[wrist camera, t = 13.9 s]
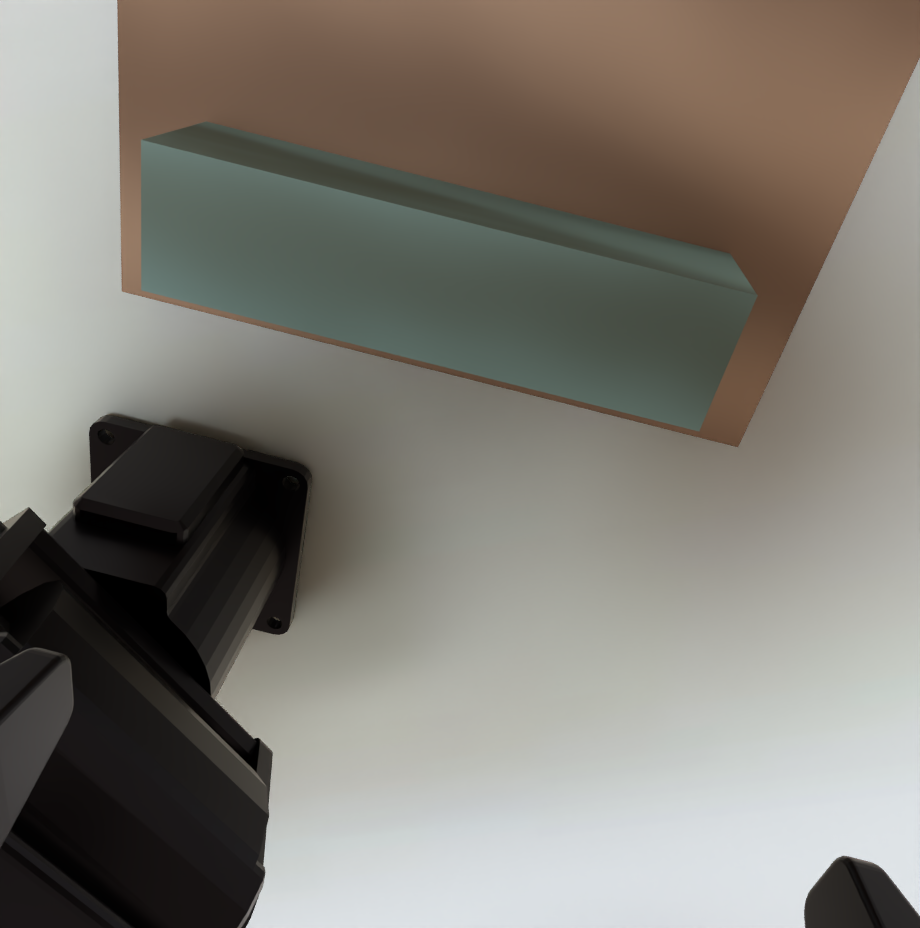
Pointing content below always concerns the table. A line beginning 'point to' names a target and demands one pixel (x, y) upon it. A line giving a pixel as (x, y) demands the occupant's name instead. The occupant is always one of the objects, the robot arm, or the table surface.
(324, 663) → the table surface
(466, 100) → the ring
